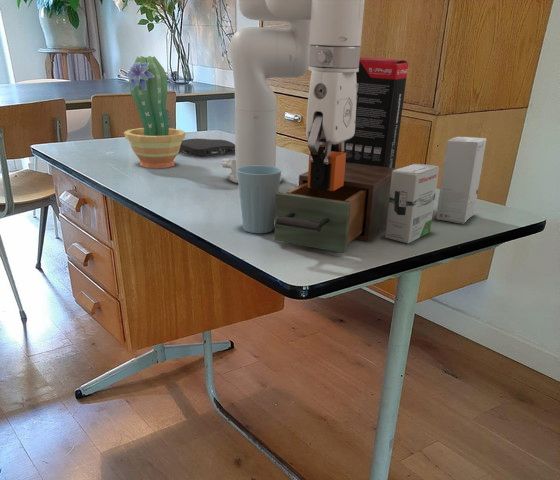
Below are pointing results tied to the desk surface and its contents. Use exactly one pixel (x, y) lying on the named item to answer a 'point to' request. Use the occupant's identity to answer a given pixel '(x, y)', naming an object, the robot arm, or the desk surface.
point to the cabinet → (378, 193)
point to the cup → (258, 196)
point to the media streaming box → (206, 147)
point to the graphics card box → (377, 112)
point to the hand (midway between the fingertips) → (325, 184)
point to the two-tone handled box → (320, 216)
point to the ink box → (411, 202)
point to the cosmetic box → (460, 179)
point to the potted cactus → (152, 115)
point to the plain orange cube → (333, 170)
